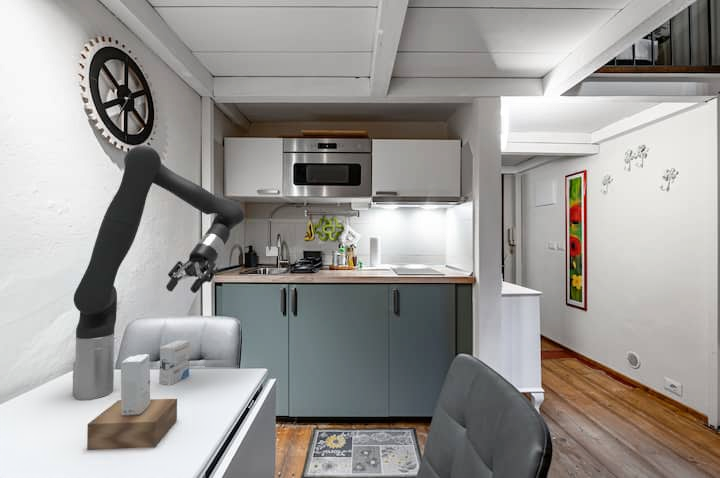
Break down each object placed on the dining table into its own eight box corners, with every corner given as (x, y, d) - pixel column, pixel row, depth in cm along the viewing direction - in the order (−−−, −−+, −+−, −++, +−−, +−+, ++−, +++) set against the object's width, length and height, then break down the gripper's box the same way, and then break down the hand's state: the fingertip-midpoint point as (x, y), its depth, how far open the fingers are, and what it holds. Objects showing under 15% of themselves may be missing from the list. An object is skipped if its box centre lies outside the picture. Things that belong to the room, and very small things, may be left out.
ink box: (177, 374, 125) (177, 339, 125) (190, 375, 124) (190, 340, 124) (158, 384, 116) (159, 346, 116) (172, 385, 115) (173, 347, 115)
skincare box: (141, 414, 84) (141, 361, 84) (119, 416, 83) (120, 362, 83) (151, 403, 90) (151, 353, 90) (130, 404, 89) (131, 354, 89)
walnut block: (87, 451, 80) (87, 424, 80) (117, 424, 91) (118, 400, 92) (155, 449, 81) (155, 421, 81) (176, 422, 93) (177, 398, 93)
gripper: (183, 242, 119) (153, 281, 108) (221, 242, 115) (194, 283, 104) (194, 258, 124) (167, 297, 113) (231, 259, 120) (207, 299, 109)
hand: (180, 290), depth 108 cm, fingers open, 8 cm apart
